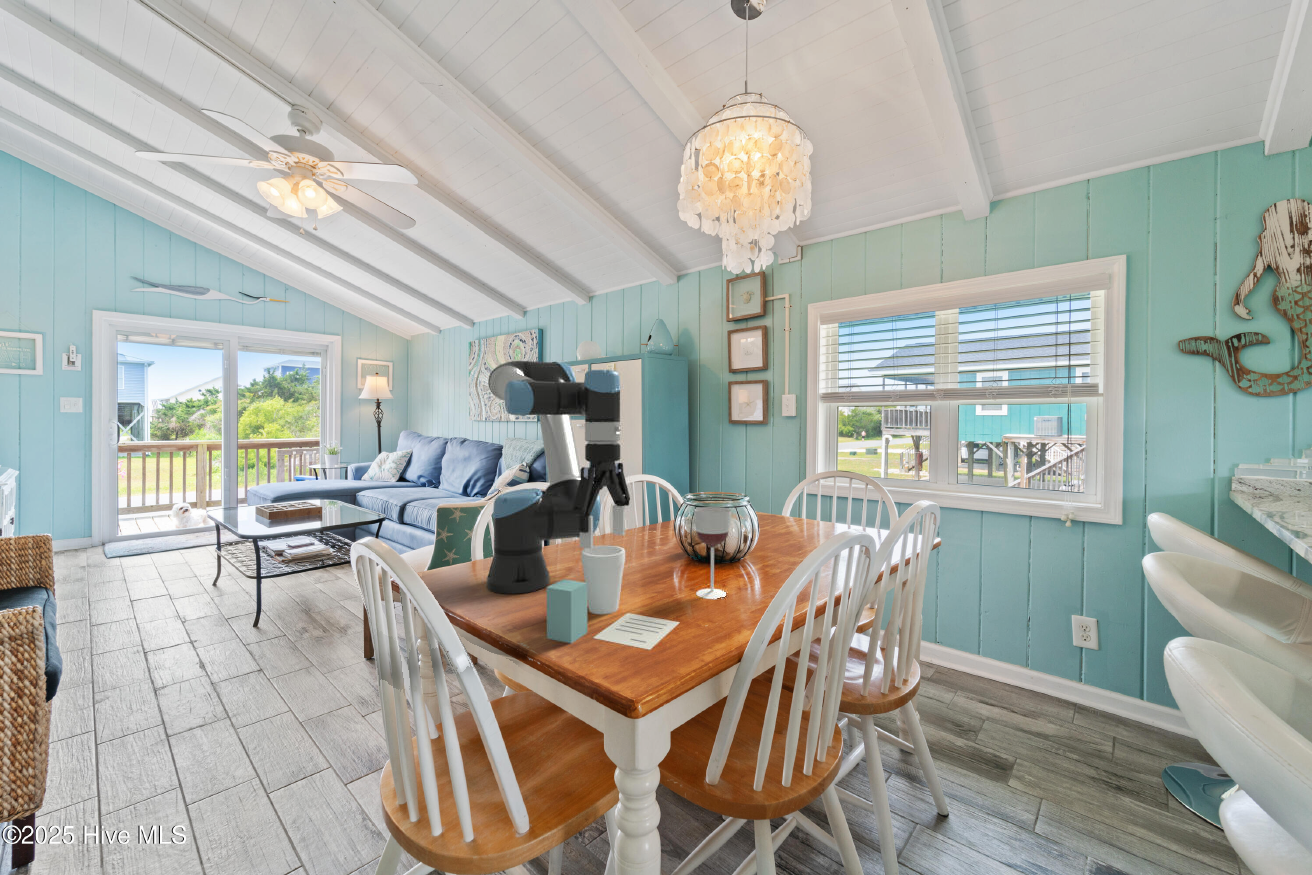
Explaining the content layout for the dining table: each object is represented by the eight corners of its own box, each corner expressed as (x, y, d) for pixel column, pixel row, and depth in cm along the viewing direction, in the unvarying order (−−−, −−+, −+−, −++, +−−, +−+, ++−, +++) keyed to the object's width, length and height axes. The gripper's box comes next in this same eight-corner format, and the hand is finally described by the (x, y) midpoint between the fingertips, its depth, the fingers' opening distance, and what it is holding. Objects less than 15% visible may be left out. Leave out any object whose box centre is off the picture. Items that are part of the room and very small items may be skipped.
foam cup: (617, 619, 112) (617, 557, 112) (575, 616, 114) (575, 555, 114) (629, 603, 122) (629, 546, 121) (589, 600, 124) (589, 544, 123)
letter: (592, 638, 103) (592, 637, 103) (627, 613, 115) (627, 612, 115) (649, 650, 98) (649, 649, 98) (679, 623, 110) (679, 622, 110)
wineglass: (736, 597, 126) (736, 511, 125) (701, 601, 123) (701, 513, 123) (722, 586, 134) (722, 506, 133) (689, 590, 131) (689, 507, 130)
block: (563, 628, 108) (563, 579, 107) (587, 633, 105) (587, 582, 105) (547, 639, 103) (546, 587, 102) (571, 644, 100) (571, 591, 100)
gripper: (586, 445, 103) (587, 556, 104) (644, 440, 126) (644, 531, 127) (553, 445, 107) (554, 552, 107) (616, 440, 129) (616, 528, 130)
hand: (603, 540), depth 117 cm, fingers open, 13 cm apart
